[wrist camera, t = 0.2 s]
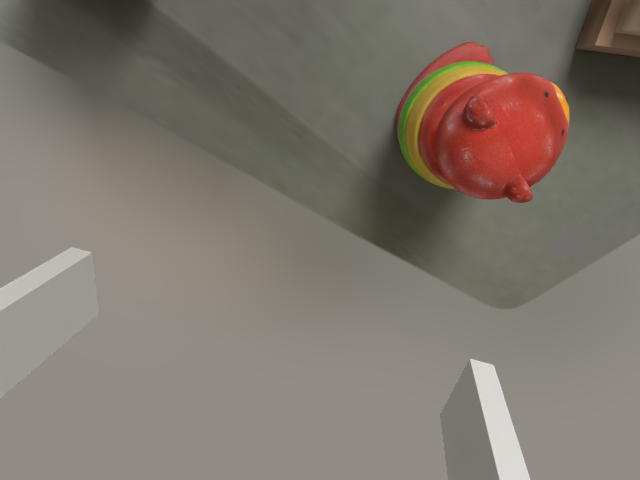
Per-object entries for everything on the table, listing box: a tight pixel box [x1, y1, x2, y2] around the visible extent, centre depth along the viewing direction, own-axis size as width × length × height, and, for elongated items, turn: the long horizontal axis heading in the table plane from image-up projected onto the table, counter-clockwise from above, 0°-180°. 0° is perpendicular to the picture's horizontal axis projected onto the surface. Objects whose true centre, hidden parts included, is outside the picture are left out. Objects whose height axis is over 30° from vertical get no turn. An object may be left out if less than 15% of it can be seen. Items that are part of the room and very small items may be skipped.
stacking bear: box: [396, 42, 570, 203], centre depth 27 cm, size 11×10×18 cm
